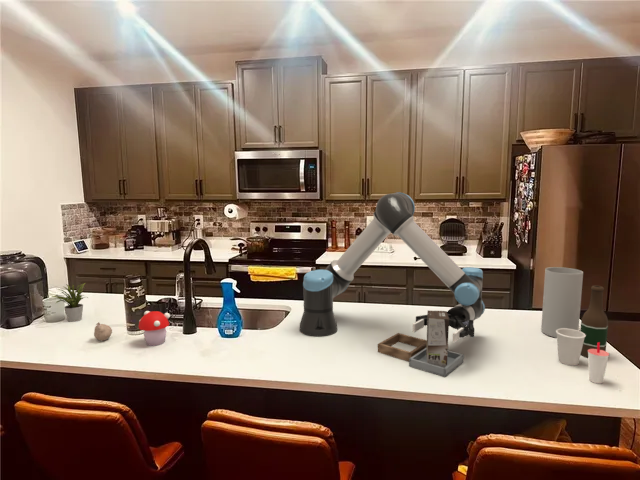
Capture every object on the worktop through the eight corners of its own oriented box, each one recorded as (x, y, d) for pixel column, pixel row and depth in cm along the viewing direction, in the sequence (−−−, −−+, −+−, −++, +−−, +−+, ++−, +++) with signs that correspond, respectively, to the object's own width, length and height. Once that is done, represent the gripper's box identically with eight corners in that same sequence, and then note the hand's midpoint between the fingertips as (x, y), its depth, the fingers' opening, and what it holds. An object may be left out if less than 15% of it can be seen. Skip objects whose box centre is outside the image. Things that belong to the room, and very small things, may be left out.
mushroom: (176, 342, 158) (174, 311, 157) (147, 350, 151) (145, 318, 149) (162, 335, 166) (160, 305, 164) (134, 343, 158) (132, 311, 156)
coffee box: (447, 369, 133) (449, 319, 131) (426, 367, 135) (428, 318, 132) (445, 357, 142) (447, 310, 140) (425, 355, 143) (427, 309, 141)
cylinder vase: (581, 341, 157) (587, 275, 154) (544, 337, 161) (548, 272, 158) (573, 330, 169) (578, 268, 165) (538, 326, 173) (542, 266, 169)
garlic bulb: (90, 341, 160) (88, 320, 159) (105, 335, 166) (104, 315, 165) (101, 344, 157) (99, 323, 156) (116, 338, 163) (115, 318, 162)
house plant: (72, 313, 194) (69, 278, 192) (100, 314, 192) (98, 279, 190) (49, 323, 180) (45, 286, 178) (78, 325, 178) (75, 287, 176)
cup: (587, 383, 125) (590, 344, 123) (583, 375, 130) (586, 337, 128) (608, 386, 123) (612, 346, 121) (604, 378, 128) (607, 340, 126)
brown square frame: (377, 352, 148) (377, 343, 148) (398, 340, 159) (398, 332, 158) (411, 362, 140) (411, 353, 139) (430, 349, 150) (430, 341, 150)
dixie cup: (548, 356, 144) (551, 328, 142) (574, 356, 143) (576, 328, 142) (562, 367, 135) (564, 337, 134) (588, 367, 135) (591, 337, 134)
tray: (409, 366, 137) (409, 358, 137) (428, 352, 148) (429, 345, 147) (445, 377, 129) (445, 369, 129) (463, 361, 140) (463, 354, 140)
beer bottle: (580, 357, 142) (586, 288, 139) (576, 349, 150) (581, 282, 146) (608, 361, 140) (614, 290, 136) (602, 352, 147) (608, 284, 143)
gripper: (495, 334, 143) (471, 354, 127) (427, 319, 159) (398, 335, 143) (496, 312, 142) (472, 329, 126) (427, 299, 158) (398, 313, 142)
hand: (433, 332), depth 134 cm, fingers open, 13 cm apart
